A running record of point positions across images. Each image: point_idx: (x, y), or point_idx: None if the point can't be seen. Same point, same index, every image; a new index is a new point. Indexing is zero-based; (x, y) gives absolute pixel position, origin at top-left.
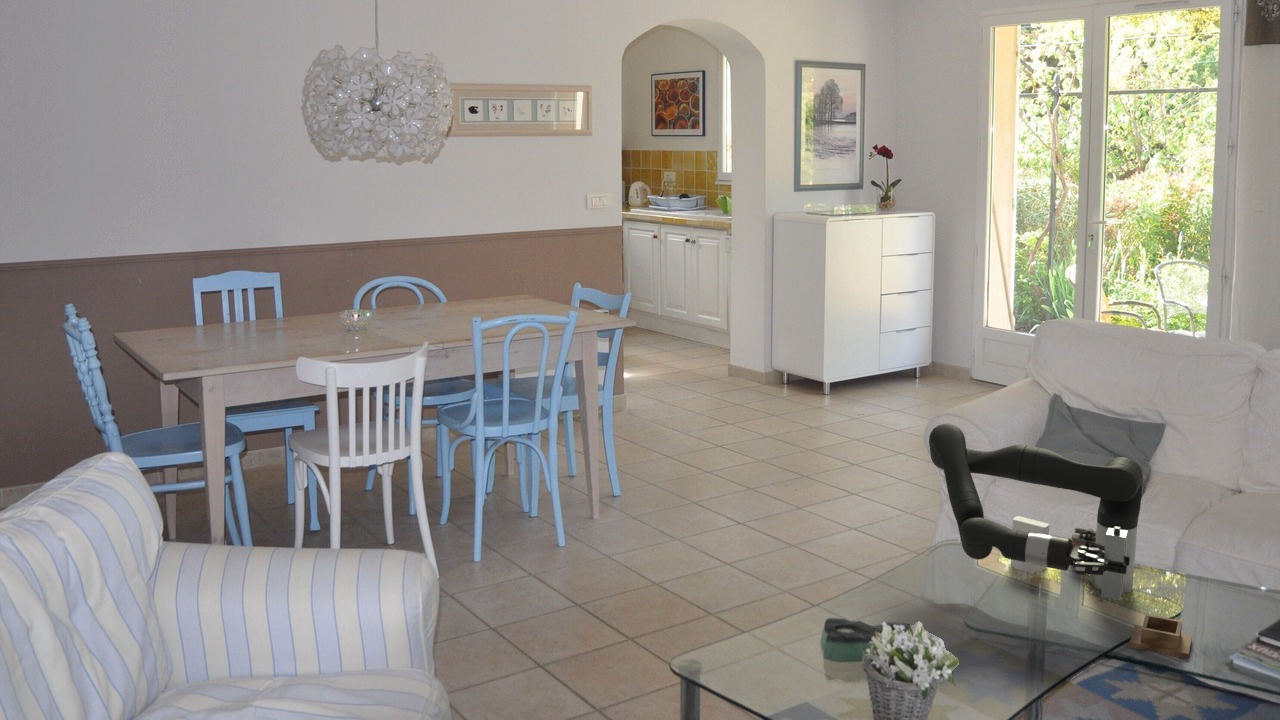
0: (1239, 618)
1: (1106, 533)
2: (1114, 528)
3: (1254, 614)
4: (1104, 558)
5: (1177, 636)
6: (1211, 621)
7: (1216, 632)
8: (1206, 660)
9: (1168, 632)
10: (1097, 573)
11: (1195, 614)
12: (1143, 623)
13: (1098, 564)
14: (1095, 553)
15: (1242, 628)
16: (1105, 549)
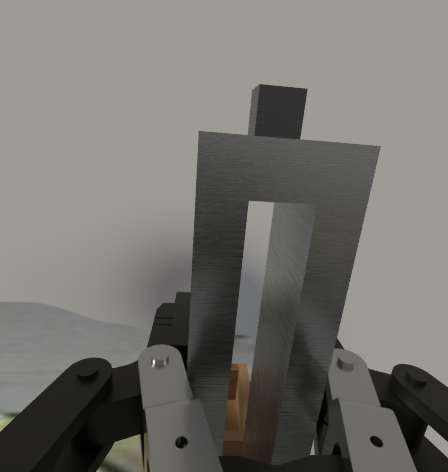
0: (43, 328)
1: (355, 144)
2: (304, 92)
3: (26, 314)
4: (330, 360)
5: (246, 368)
6: (59, 360)
7: (110, 353)
8: (232, 361)
9: (241, 382)
10: (434, 449)
11: (22, 385)
12: (223, 439)
13: (446, 393)
14: (229, 456)
15: (85, 325)
16: (345, 290)
